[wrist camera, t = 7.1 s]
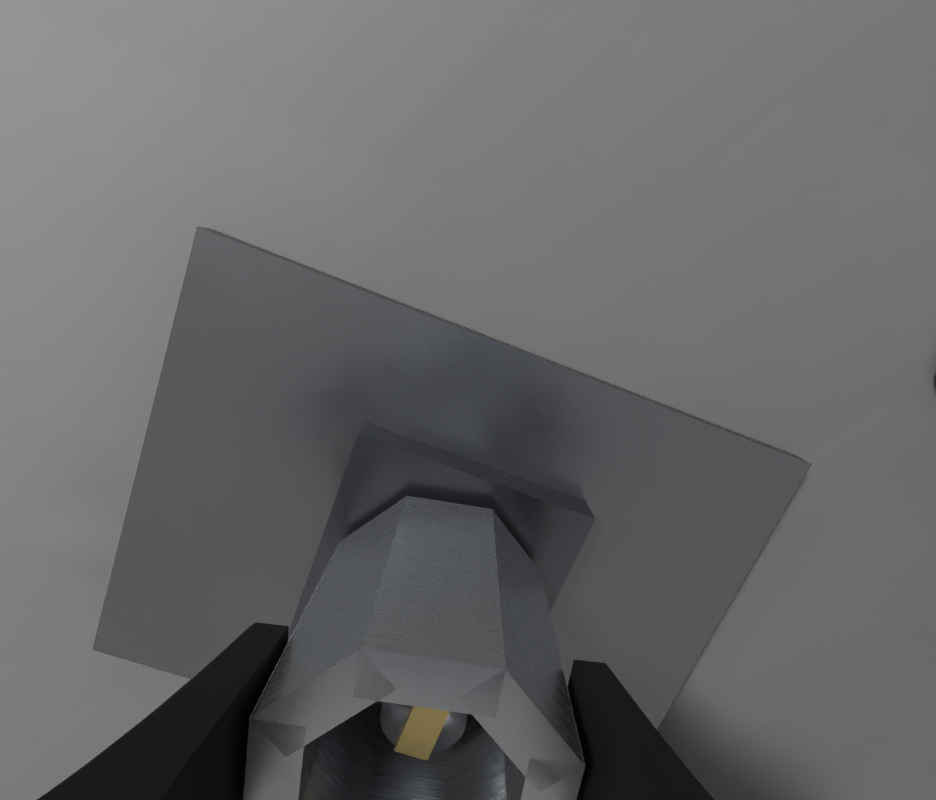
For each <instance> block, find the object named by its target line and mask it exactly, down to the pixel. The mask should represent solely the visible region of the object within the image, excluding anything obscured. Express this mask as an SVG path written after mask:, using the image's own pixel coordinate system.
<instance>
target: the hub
mask: <svg viewBox="0 0 936 800" xmlns="http://www.w3.org/2000/svg"><path fill="white" fill-rule="evenodd" d="M383 702H389V703H396V704H403V705H410V706H417V707H424V708H431V709H438V710H445V711H452V712H459V713H466V714H467V724H466V728H465V731H464V733H463V735H462V736H461V738H460V739H459V740H458V741H457V742H456V743H455V744H454V745H452V746H451V747H449V748H447V749H445V750H443V751H440V752H437V753H432V754H430V756H429V758H428V760H427V761H426V760H422V759H419V758H416V757H412V756H409V755H405V754H402V753H399V752H395V751H394V749H395V745H394V744H393V743H392V742H391V741H390V740H389V739H388V738H387V737H386V735H385V734H384V732H383V730H382V727H381V723H380V714H381V708H382V703H383ZM584 769H585V763H584V758H583V754H582V750H581V745H580V741H579V737H578V732H577V728H576V724H575V719H574V715H573V711H572V706H571V702H570V697H569V693H568V689H567V684H566V680H565V676H564V671H563V667H562V663H561V658H560V654H559V650H558V645H557V641H556V636H555V632H554V628H553V623H552V619H551V615H550V610H549V606H548V602H547V597H546V593H545V589H544V584H543V580H542V576H541V572H540V570H539V569H538V568H537V567H536V565H535V564H534V563H533V561H532V560H531V559H530V557H529V556H528V555H527V554H526V552H525V551H524V550H523V548H522V547H521V546H520V544H519V543H518V542H517V540H516V539H515V538H514V537H513V535H512V534H511V533H510V531H509V530H508V529H507V527H506V526H505V525H504V524H503V522H502V521H501V520H500V518H499V517H498V516H497V514H496V513H495V512H494V510H493V509H490V508H484V507H477V506H471V505H464V504H458V503H451V502H445V501H438V500H432V499H425V498H419V497H412V496H406V497H404V498H403V499H401V500H400V501H398V502H397V503H395V504H394V505H393V506H391V507H390V508H388V509H387V510H385V511H384V512H382V513H381V514H379V515H378V516H376V517H375V518H373V519H372V520H371V521H369V522H368V523H366V524H365V525H363V526H362V527H360V528H359V529H357V530H356V531H354V532H353V533H351V534H350V535H349V536H347V537H346V538H344V539H343V540H341V541H340V542H339V544H338V546H337V548H336V550H335V551H334V553H333V555H332V557H331V559H330V561H329V563H328V565H327V567H326V569H325V571H324V573H323V575H322V577H321V579H320V581H319V583H318V585H317V587H316V589H315V591H314V593H313V595H312V597H311V599H310V601H309V603H308V604H307V606H306V608H305V610H304V612H303V614H302V616H301V618H300V620H299V622H298V624H297V626H296V628H295V630H294V632H293V634H292V636H291V638H290V640H289V642H288V644H287V646H286V648H285V650H284V652H283V654H282V655H281V657H280V659H279V661H278V663H277V665H276V667H275V669H274V671H273V673H272V675H271V677H270V679H269V681H268V683H267V685H266V687H265V689H264V691H263V693H262V695H261V697H260V699H259V701H258V703H257V705H256V706H255V708H254V710H253V712H252V714H251V716H250V718H249V729H248V743H247V756H246V769H245V782H244V795H243V800H576V799H577V795H578V792H579V788H580V784H581V780H582V776H583V773H584Z"/></svg>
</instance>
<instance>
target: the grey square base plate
mask: <svg viewBox="0 0 936 800" xmlns="http://www.w3.org/2000/svg"><path fill="white" fill-rule="evenodd" d="M811 465H812V464H810V463H808V462H807V461H805V460H803V459H801V458H799V457H798V456H795V455H793V454H790V453H788V452H785V451H782V450H780V449H777V448H775V447H772V446H770V445H767V444H764V443H762V442H759V441H757V440H754V439H751V438H749V437H746V436H744V435H741V434H739V433H736V432H733V431H731V430H728V429H726V428H723V427H721V426H718V425H715V424H713V423H710V422H708V421H705V420H702V419H700V418H697V417H695V416H692V415H690V414H687V413H684V412H682V411H679V410H677V409H674V408H671V407H669V406H666V405H664V404H661V403H659V402H656V401H653V400H651V399H648V398H646V397H643V396H641V395H638V394H635V393H633V392H630V391H628V390H625V389H622V388H620V387H617V386H615V385H612V384H610V383H607V382H604V381H602V380H599V379H597V378H594V377H591V376H589V375H586V374H584V373H581V372H579V371H576V370H573V369H571V368H568V367H566V366H563V365H561V364H558V363H555V362H553V361H550V360H548V359H545V358H542V357H540V356H537V355H535V354H532V353H530V352H527V351H524V350H522V349H519V348H517V347H514V346H511V345H509V344H506V343H504V342H501V341H499V340H496V339H493V338H491V337H488V336H486V335H483V334H480V333H478V332H475V331H473V330H470V329H468V328H465V327H462V326H460V325H457V324H455V323H452V322H450V321H447V320H444V319H442V318H439V317H437V316H434V315H431V314H429V313H426V312H424V311H421V310H419V309H416V308H413V307H411V306H408V305H406V304H403V303H400V302H398V301H395V300H393V299H390V298H388V297H385V296H382V295H380V294H377V293H375V292H372V291H370V290H367V289H364V288H362V287H359V286H357V285H354V284H351V283H349V282H346V281H344V280H341V279H339V278H336V277H333V276H331V275H328V274H326V273H323V272H320V271H318V270H315V269H313V268H310V267H308V266H305V265H302V264H300V263H297V262H295V261H292V260H290V259H287V258H284V257H282V256H279V255H277V254H274V253H271V252H269V251H266V250H264V249H261V248H259V247H256V246H253V245H251V244H248V243H246V242H243V241H240V240H238V239H235V238H233V237H230V236H228V235H225V234H222V233H220V232H217V231H215V230H212V229H209V228H203V227H197V229H196V233H195V237H194V242H193V246H192V250H191V254H190V258H189V262H188V266H187V270H186V274H185V278H184V282H183V286H182V290H181V294H180V298H179V302H178V306H177V310H176V314H175V318H174V322H173V326H172V330H171V335H170V339H169V343H168V347H167V351H166V355H165V359H164V363H163V367H162V371H161V375H160V379H159V383H158V387H157V391H156V395H155V399H154V403H153V407H152V411H151V415H150V419H149V423H148V427H147V432H146V436H145V440H144V444H143V448H142V452H141V456H140V460H139V464H138V468H137V472H136V476H135V480H134V484H133V488H132V492H131V496H130V500H129V504H128V508H127V512H126V516H125V520H124V525H123V529H122V533H121V537H120V541H119V545H118V549H117V553H116V557H115V561H114V565H113V569H112V573H111V577H110V581H109V585H108V589H107V593H106V597H105V601H104V605H103V609H102V613H101V617H100V622H99V626H98V630H97V634H96V638H95V642H94V646H93V650H95V651H99V652H102V653H105V654H109V655H112V656H115V657H119V658H122V659H126V660H129V661H132V662H136V663H139V664H142V665H146V666H149V667H152V668H156V669H159V670H162V671H166V672H169V673H172V674H176V675H179V676H182V677H186V678H189V679H192V678H193V677H194V676H195V675H197V674H198V673H199V672H200V671H201V670H202V669H203V668H204V667H206V666H207V665H208V664H209V663H210V662H211V661H212V660H213V659H215V658H216V657H217V656H218V655H219V654H220V653H221V652H222V651H223V650H224V649H226V648H227V647H228V646H229V645H230V644H231V643H232V642H233V641H234V640H235V639H236V638H237V637H239V636H240V635H241V634H242V633H243V632H244V631H245V630H246V629H247V628H248V627H250V626H251V625H252V624H254V623H255V622H258V623H266V624H275V625H283V626H289V631H288V642H289V640H290V638H291V636H292V634H293V632H294V630H295V628H296V626H297V624H298V622H299V620H300V618H301V616H302V614H303V612H304V610H305V608H306V606H307V604H308V603H309V601H310V599H311V597H312V595H313V593H314V591H315V589H316V587H317V585H318V583H319V581H320V579H321V577H322V575H323V573H324V571H325V569H326V567H327V565H328V563H329V561H330V559H331V557H332V555H333V553H334V551H335V550H336V548H337V546H338V544H339V542H340V541H341V540H343V539H344V538H346V537H347V536H349V535H350V534H351V533H353V532H354V531H356V530H357V529H359V528H360V527H362V526H363V525H365V524H366V523H368V522H369V521H371V520H372V519H373V518H375V517H376V516H378V515H379V514H381V513H382V512H384V511H385V510H387V509H388V508H390V507H391V506H393V505H394V504H395V503H397V502H398V501H400V500H401V499H403V498H404V497H406V496H412V497H419V498H425V499H432V500H438V501H445V502H451V503H458V504H464V505H471V506H477V507H484V508H490V509H493V510H494V512H495V513H496V514H497V516H498V517H499V518H500V520H501V521H502V522H503V524H504V525H505V526H506V527H507V529H508V530H509V531H510V533H511V534H512V535H513V537H514V538H515V539H516V540H517V542H518V543H519V544H520V546H521V547H522V548H523V550H524V551H525V552H526V554H527V555H528V556H529V557H530V559H531V560H532V561H533V563H534V564H535V565H536V567H537V568H538V569H539V570H540V572H541V576H542V580H543V584H544V589H545V593H546V597H547V602H548V606H549V610H550V615H551V619H552V623H553V628H554V632H555V636H556V641H557V645H558V650H559V654H560V658H561V663H562V667H563V671H564V676H565V680H566V684H567V687H568V682H569V678H570V674H571V669H572V665H573V661H574V659H575V660H583V661H592V662H601V663H606V664H607V666H608V667H609V668H610V669H611V671H612V672H613V673H614V675H615V676H616V677H617V679H618V680H619V681H620V682H621V684H622V685H623V686H624V688H625V689H626V690H627V692H628V693H629V694H630V696H631V697H632V698H633V700H634V701H635V702H636V704H637V705H638V706H639V708H640V709H641V710H642V711H643V713H644V714H645V715H646V717H647V718H648V719H649V721H650V722H651V723H652V724H653V726H654V727H655V728H656V730H657V729H658V727H659V725H660V724H661V722H662V720H663V718H664V717H665V715H666V713H667V712H668V710H669V708H670V706H671V705H672V703H673V701H674V700H675V698H676V696H677V694H678V693H679V691H680V689H681V688H682V686H683V684H684V682H685V681H686V679H687V677H688V676H689V674H690V672H691V670H692V669H693V667H694V665H695V664H696V662H697V660H698V658H699V657H700V655H701V653H702V652H703V650H704V648H705V646H706V645H707V643H708V641H709V640H710V638H711V636H712V634H713V633H714V631H715V629H716V627H717V626H718V624H719V622H720V621H721V619H722V617H723V615H724V614H725V612H726V610H727V609H728V607H729V605H730V603H731V602H732V600H733V598H734V597H735V595H736V593H737V591H738V590H739V588H740V586H741V585H742V583H743V581H744V579H745V578H746V576H747V574H748V573H749V571H750V569H751V567H752V566H753V564H754V562H755V561H756V559H757V557H758V555H759V554H760V552H761V550H762V549H763V547H764V545H765V543H766V542H767V540H768V538H769V537H770V535H771V533H772V531H773V530H774V528H775V526H776V525H777V523H778V521H779V519H780V518H781V516H782V514H783V513H784V511H785V509H786V507H787V506H788V504H789V502H790V501H791V499H792V497H793V495H794V494H795V492H796V490H797V489H798V487H799V485H800V483H801V482H802V480H803V478H804V477H805V475H806V473H807V471H808V470H809V468H810V466H811ZM380 723H381V727H382V730H383V732H384V734H385V735H386V737H387V738H388V739H389V740H390V741H391V742H392V743H393V744H394V745H395V749H394V751H395V752H399V753H402V754H405V755H409V756H412V757H416V758H419V759H422V760H426V761H427V760H428V758H429V756H430V754H432V753H437V752H440V751H443V750H445V749H447V748H449V747H451V746H452V745H454V744H455V743H456V742H457V741H458V740H459V739H460V738H461V736H462V735H463V733H464V731H465V728H466V724H467V714H466V713H459V712H452V711H445V710H438V709H431V708H424V707H417V706H410V705H403V704H396V703H389V702H383V703H382V708H381V714H380Z"/></svg>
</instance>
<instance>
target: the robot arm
mask: <svg viewBox="0 0 936 800" xmlns="http://www.w3.org/2000/svg"><path fill="white" fill-rule="evenodd" d="M288 631H289V626H283V625H275V624H266V623H258V622H255V623H254V624H252V625H251V626H250V627H248V628H247V629H246V630H245V631H244V632H243V633H242V634H241V635H240V636H239V637H237V638H236V639H235V640H234V641H233V642H232V643H231V644H230V645H229V646H228V647H227V648H226V649H224V650H223V651H222V652H221V653H220V654H219V655H218V656H217V657H216V658H215V659H213V660H212V661H211V662H210V663H209V664H208V665H207V666H206V667H204V668H203V669H202V670H201V671H200V672H199V673H198V674H197V675H195V676H194V677H193V678H192V679H191V680H190V681H189V682H187V683H186V684H185V685H184V686H183V687H182V688H180V689H179V690H178V691H177V692H176V693H174V694H173V695H172V696H171V697H170V698H169V699H167V700H166V701H165V702H164V703H163V704H162V705H160V706H159V707H158V708H157V709H156V710H154V711H153V712H152V713H151V714H150V715H148V716H147V717H146V718H145V719H144V720H142V721H141V722H140V723H138V724H137V725H136V726H135V727H133V728H132V729H131V730H130V731H128V732H127V733H126V734H124V735H123V736H122V737H121V738H119V739H118V740H117V741H116V742H114V743H113V744H112V745H110V746H109V747H108V748H107V749H105V750H104V751H103V752H102V753H100V754H99V755H98V756H96V757H95V758H94V759H93V760H91V761H90V762H89V763H87V764H86V765H85V766H83V767H82V768H80V769H79V770H78V771H76V772H75V773H74V774H72V775H71V776H70V777H68V778H67V779H66V780H64V781H63V782H61V783H60V784H59V785H57V786H56V787H54V788H53V789H52V790H50V791H49V792H48V793H46V794H45V795H43V796H42V797H40V798H39V799H37V800H243V795H244V782H245V769H246V756H247V743H248V729H249V718H250V716H251V714H252V712H253V710H254V708H255V706H256V705H257V703H258V701H259V699H260V697H261V695H262V693H263V691H264V689H265V687H266V685H267V683H268V681H269V679H270V677H271V675H272V673H273V671H274V669H275V667H276V665H277V663H278V661H279V659H280V657H281V655H282V654H283V652H284V650H285V648H286V646H287V644H288ZM567 689H568V693H569V697H570V702H571V706H572V711H573V715H574V719H575V724H576V728H577V732H578V737H579V741H580V745H581V750H582V754H583V758H584V763H585V769H584V773H583V776H582V780H581V784H580V788H579V792H578V795H577V799H576V800H714V799H713V798H712V797H711V796H710V795H709V793H708V792H707V791H706V790H705V789H704V787H703V786H702V785H701V784H700V783H699V782H698V780H697V779H696V778H695V777H694V776H693V774H692V773H691V772H690V771H689V770H688V768H687V767H686V766H685V765H684V763H683V762H682V761H681V760H680V759H679V757H678V756H677V755H676V754H675V752H674V751H673V750H672V749H671V747H670V746H669V745H668V744H667V742H666V741H665V740H664V739H663V737H662V736H661V735H660V733H659V732H658V731H657V730H656V728H655V727H654V726H653V724H652V723H651V722H650V721H649V719H648V718H647V717H646V715H645V714H644V713H643V711H642V710H641V709H640V708H639V706H638V705H637V704H636V702H635V701H634V700H633V698H632V697H631V696H630V694H629V693H628V692H627V690H626V689H625V688H624V686H623V685H622V684H621V682H620V681H619V680H618V679H617V677H616V676H615V675H614V673H613V672H612V671H611V669H610V668H609V667H608V666H607V664H606V663H601V662H592V661H583V660H575V659H574V661H573V665H572V669H571V674H570V678H569V682H568V687H567Z"/></svg>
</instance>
